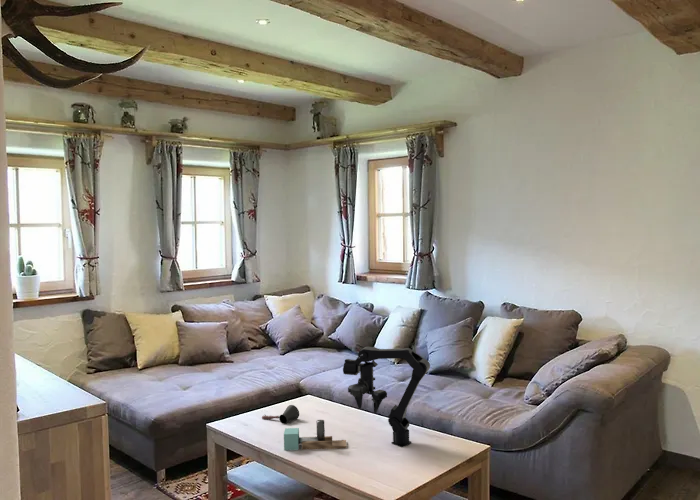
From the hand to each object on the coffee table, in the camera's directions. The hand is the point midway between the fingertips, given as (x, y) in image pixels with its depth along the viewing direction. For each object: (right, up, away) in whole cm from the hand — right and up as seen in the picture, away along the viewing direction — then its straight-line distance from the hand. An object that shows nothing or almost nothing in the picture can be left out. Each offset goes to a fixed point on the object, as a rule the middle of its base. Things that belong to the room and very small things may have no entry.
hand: (367, 410), depth 255 cm
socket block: (-33, -14, -6) cm, 36 cm away
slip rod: (-26, -13, -6) cm, 30 cm away
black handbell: (-42, -13, +30) cm, 53 cm away
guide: (-19, -14, -5) cm, 24 cm away
